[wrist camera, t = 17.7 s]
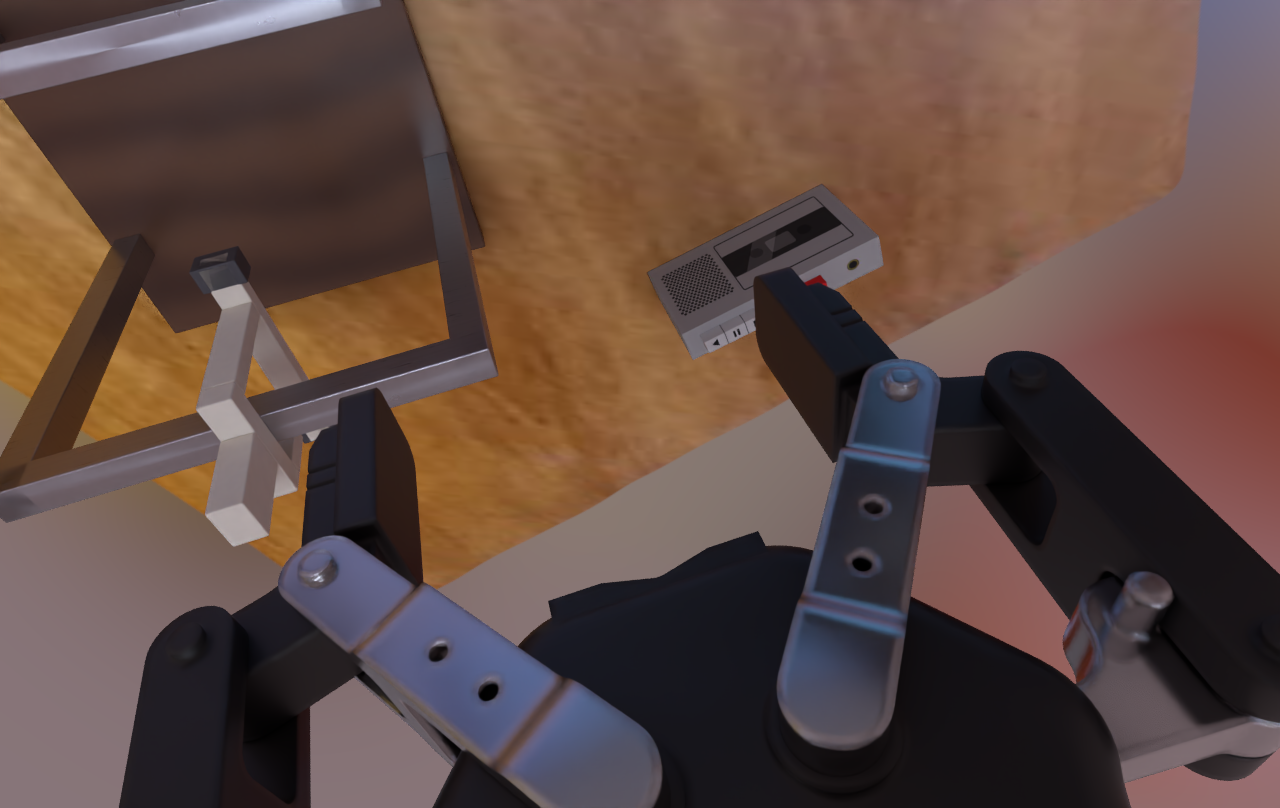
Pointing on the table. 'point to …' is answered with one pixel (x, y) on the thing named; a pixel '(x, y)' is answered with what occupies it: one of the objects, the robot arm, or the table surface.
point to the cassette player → (762, 266)
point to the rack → (233, 201)
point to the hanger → (244, 402)
